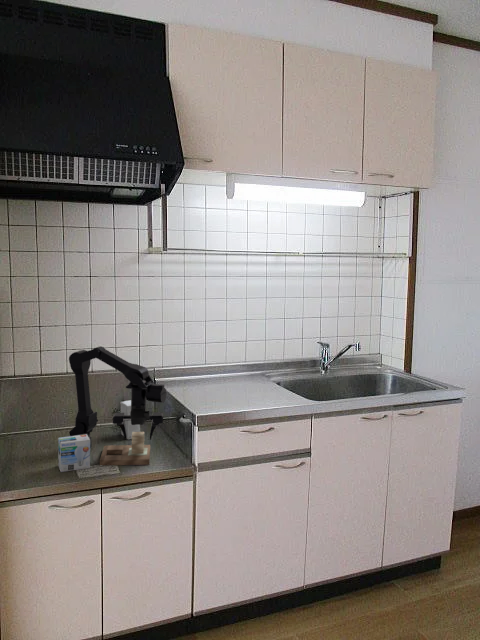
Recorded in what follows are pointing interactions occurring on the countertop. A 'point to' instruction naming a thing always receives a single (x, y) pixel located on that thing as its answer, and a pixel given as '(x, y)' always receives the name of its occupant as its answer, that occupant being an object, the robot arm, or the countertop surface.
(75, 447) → the light bulb box
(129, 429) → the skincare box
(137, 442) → the maple block
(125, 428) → the robot arm
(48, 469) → the countertop surface
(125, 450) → the pocket board
